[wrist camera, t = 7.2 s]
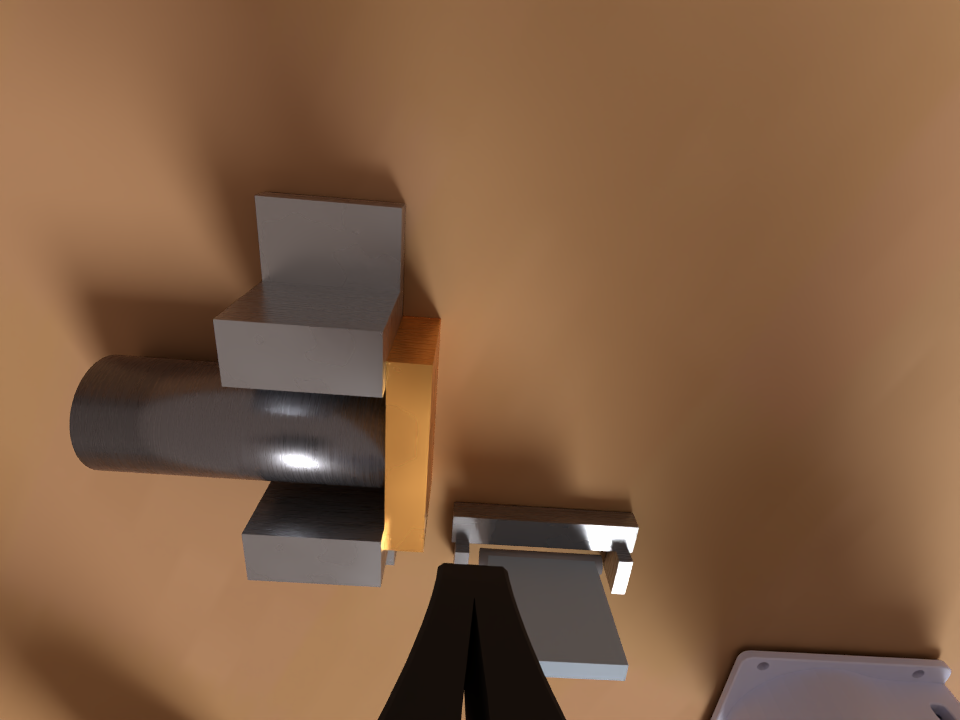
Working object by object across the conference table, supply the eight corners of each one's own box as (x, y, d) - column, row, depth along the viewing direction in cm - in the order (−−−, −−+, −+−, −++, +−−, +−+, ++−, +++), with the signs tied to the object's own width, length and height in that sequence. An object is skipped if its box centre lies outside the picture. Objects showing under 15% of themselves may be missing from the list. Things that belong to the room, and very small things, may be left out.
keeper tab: (599, 551, 20) (638, 664, 16) (596, 565, 21) (634, 682, 16) (480, 544, 20) (483, 656, 15) (478, 559, 20) (481, 675, 16)
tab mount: (632, 513, 20) (643, 539, 19) (619, 566, 21) (628, 594, 20) (454, 502, 20) (452, 528, 19) (450, 556, 21) (448, 584, 20)
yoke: (405, 203, 15) (383, 230, 12) (396, 549, 21) (380, 640, 17) (265, 191, 15) (198, 215, 12) (293, 543, 21) (255, 634, 17)
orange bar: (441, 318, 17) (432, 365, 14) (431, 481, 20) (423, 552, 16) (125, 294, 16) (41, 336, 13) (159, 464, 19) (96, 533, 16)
